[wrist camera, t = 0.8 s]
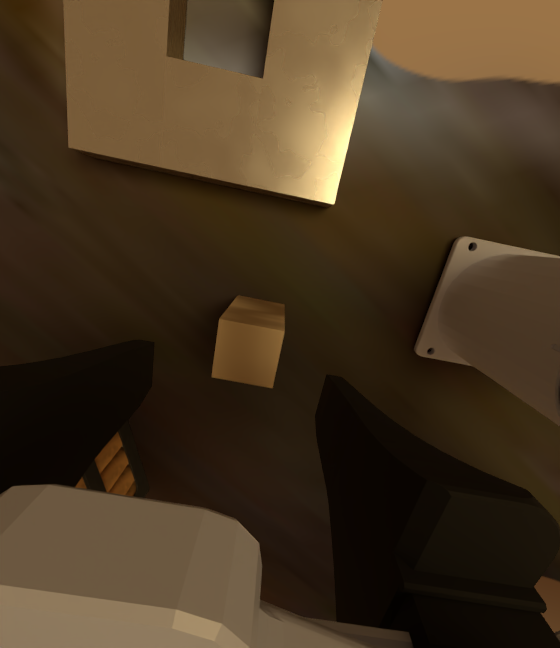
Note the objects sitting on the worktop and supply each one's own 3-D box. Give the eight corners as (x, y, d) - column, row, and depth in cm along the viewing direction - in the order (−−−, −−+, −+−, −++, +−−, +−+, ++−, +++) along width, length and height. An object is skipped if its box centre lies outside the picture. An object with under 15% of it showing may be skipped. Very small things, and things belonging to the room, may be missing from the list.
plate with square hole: (405, -123, 12) (427, -188, 10) (328, 208, 17) (333, 204, 15) (90, -208, 12) (52, -294, 10) (94, 157, 16) (68, 147, 14)
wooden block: (284, 304, 19) (284, 331, 13) (275, 347, 20) (272, 388, 14) (237, 295, 18) (219, 318, 13) (231, 339, 19) (211, 377, 14)
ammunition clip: (150, 489, 24) (26, 724, 12) (129, 490, 24) (-13, 725, 12) (115, 380, 21) (-98, 561, 9) (91, 382, 21) (-150, 564, 9)
